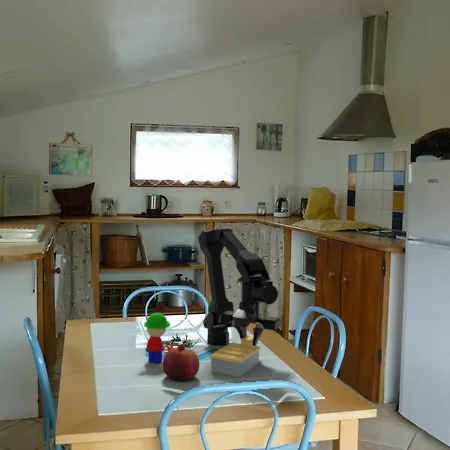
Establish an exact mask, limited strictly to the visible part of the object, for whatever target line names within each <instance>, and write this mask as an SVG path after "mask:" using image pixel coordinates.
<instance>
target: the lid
mask: <svg viewBox="0 0 450 450" xmlns="http://www.w3.org/2000/svg"><path fill="white" fill-rule="evenodd" d="M253 336H254V334H250V333H249V334H247V336H245V337H244V338H242V339H240V343H239V342H229V344H228V345H226V346H221V347H222V348H220V349H218V350H216V351H215V352H213V353H212V354H210V355H209V357H210V359H212V358H214V359H220V360H225V361H231V362H237V363H241V362H243V361H244V360H246V359H247V358H249V357H250V356H252V355H253V354H254V353H256V352H257V351H259V352H260V351H261V346H258V345H256V346H253Z"/></svg>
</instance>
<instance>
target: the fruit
mask: <svg viewBox="0 0 450 450" xmlns="http://www.w3.org/2000/svg"><path fill="white" fill-rule="evenodd" d="M162 369H163V372H164V374H165V375H166V376H167V377H168V378H170V379H171V380H175V381H179V382H186V381H189V380H192V379H194V377H196V375H197V374H198V372H199V370H200V359H199V357H198V355H197V353H196V351H194V350H193V349H190V348H189V347H186V345H185V344H184V343H179V344H178V345H177V347H174V348H170V349H169V350H167V352H166V353H165V354H164V357H163V358H162Z"/></svg>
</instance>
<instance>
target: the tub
mask: <svg viewBox="0 0 450 450" xmlns="http://www.w3.org/2000/svg"><path fill="white" fill-rule="evenodd" d="M259 359H260V350H259V351H257V352H256V353H254V354H253V355H252V356H250V357H249V358H247V359H246V360H244V361H243V362H241V363H237V362H231V361H225V360H220V359H214V358H211V359H210V360H211V361H210V362H211V363H210V364H211V367H210V372H211V373H214V374H220V375H224V376H231V377H235V378H241V377H243V376H244V375H245V374H247V373H248V372H249V371H251V370H252V369H253V368H254V367H256V366H257V365H259V362H260V360H259Z"/></svg>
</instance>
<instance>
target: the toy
mask: <svg viewBox="0 0 450 450" xmlns="http://www.w3.org/2000/svg"><path fill="white" fill-rule="evenodd" d="M143 326H144V327H145V328H146V332H147V333H148V335H149V336H150V337H149V338H148V340H147V342H146V348H145V350H144V351H145V352H147V353H148V358H147V359H148V362H149V363H154V364H162V363H163V352H164V351H165V348H164V344H163V341H162V338H161V337H162V336H163V335H165V333H166V330H167V328H170V326H171V322H170V321H169V320H167V317H166V316H165V315H164V314H163V313H161V312H154V313H151V314H150V315H149V316H148V317H147V319H146V321H145V322H144V325H143Z"/></svg>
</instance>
